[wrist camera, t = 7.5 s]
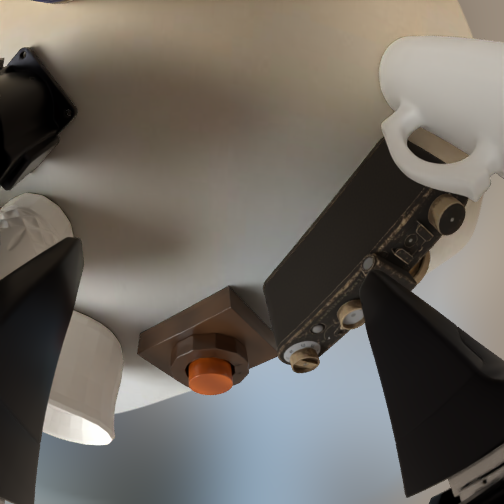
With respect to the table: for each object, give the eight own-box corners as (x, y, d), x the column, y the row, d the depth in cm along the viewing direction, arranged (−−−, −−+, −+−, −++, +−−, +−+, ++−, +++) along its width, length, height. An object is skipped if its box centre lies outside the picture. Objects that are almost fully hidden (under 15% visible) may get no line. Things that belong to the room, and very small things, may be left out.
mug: (422, 17, 14) (573, 35, 4) (462, 94, 17) (590, 156, 7) (316, 91, 17) (446, 154, 7) (370, 167, 20) (482, 278, 10)
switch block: (194, 371, 31) (194, 404, 28) (139, 333, 27) (134, 369, 24) (276, 335, 29) (284, 369, 26) (228, 285, 25) (232, 323, 21)
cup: (21, 299, 23) (-16, 384, 15) (115, 307, 25) (94, 408, 17) (51, 359, 28) (32, 434, 20) (132, 368, 30) (124, 451, 22)
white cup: (27, 279, 22) (-17, 372, 14) (-15, 202, 17) (-87, 285, 9) (98, 262, 22) (60, 372, 14) (56, 169, 17) (-27, 260, 9)
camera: (311, 314, 28) (336, 388, 21) (250, 289, 25) (265, 373, 19) (436, 173, 21) (503, 226, 14) (386, 120, 18) (464, 163, 12)
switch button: (206, 382, 26) (207, 399, 25) (179, 365, 24) (179, 383, 23) (239, 369, 26) (241, 386, 24) (214, 350, 24) (215, 368, 22)
